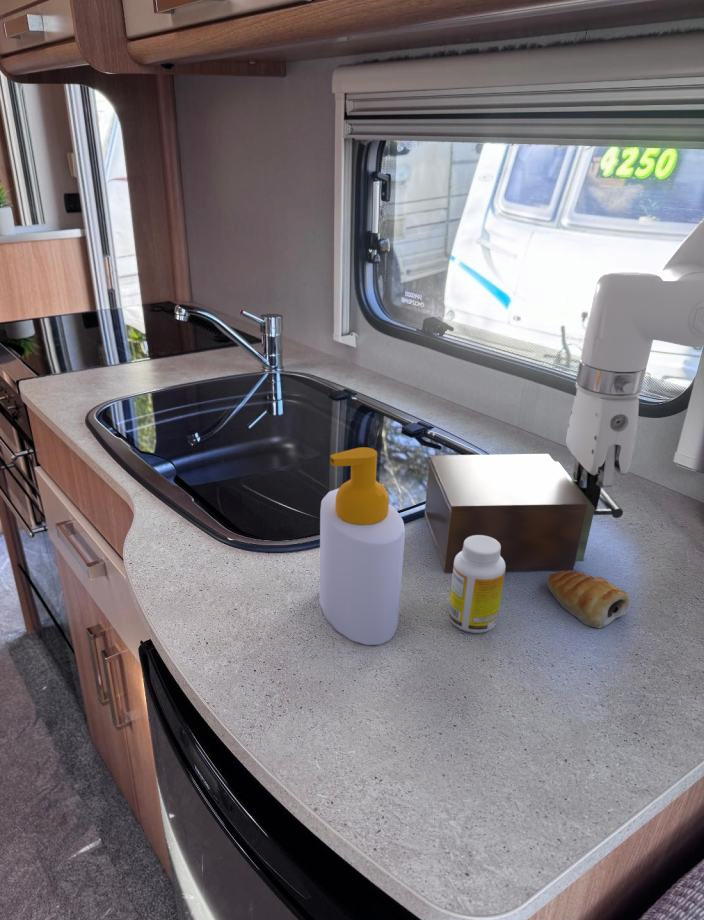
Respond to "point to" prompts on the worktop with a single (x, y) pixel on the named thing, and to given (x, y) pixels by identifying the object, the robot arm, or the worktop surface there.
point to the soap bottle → (361, 553)
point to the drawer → (610, 509)
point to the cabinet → (505, 509)
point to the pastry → (588, 597)
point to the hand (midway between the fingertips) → (581, 510)
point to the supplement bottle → (477, 585)
